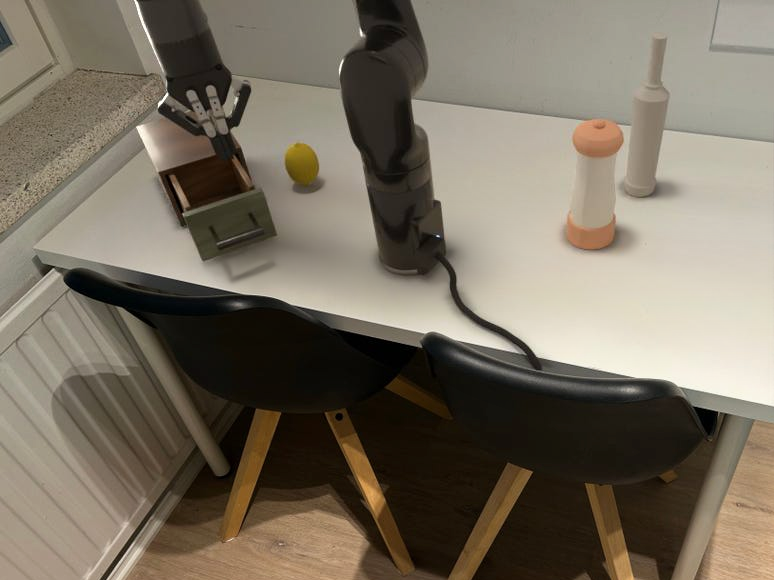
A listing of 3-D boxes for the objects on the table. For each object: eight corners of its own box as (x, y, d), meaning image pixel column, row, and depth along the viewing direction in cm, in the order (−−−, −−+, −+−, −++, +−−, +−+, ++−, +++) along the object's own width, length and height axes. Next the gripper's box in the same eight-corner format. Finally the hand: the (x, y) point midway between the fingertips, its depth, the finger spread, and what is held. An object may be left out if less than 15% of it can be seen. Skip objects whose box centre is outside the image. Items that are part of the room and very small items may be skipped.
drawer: (289, 255, 109) (275, 209, 103) (213, 283, 105) (193, 237, 99) (248, 188, 122) (233, 145, 116) (178, 211, 118) (159, 167, 112)
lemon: (316, 195, 121) (306, 152, 116) (286, 192, 122) (274, 150, 116) (327, 177, 125) (318, 135, 119) (298, 174, 126) (287, 133, 120)
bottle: (652, 200, 116) (675, 45, 98) (620, 195, 117) (637, 41, 99) (657, 182, 119) (681, 29, 101) (626, 178, 121) (644, 26, 102)
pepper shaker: (600, 216, 114) (610, 102, 100) (622, 242, 109) (636, 126, 95) (558, 228, 112) (563, 114, 98) (579, 254, 107) (587, 139, 93)
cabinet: (258, 200, 121) (240, 146, 114) (181, 226, 117) (157, 172, 110) (230, 156, 131) (213, 104, 124) (158, 178, 127) (136, 126, 120)
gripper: (122, 51, 86) (181, 181, 98) (231, 25, 88) (277, 156, 99) (127, 34, 92) (183, 159, 103) (230, 11, 94) (273, 136, 105)
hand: (229, 158), depth 101 cm, fingers closed
